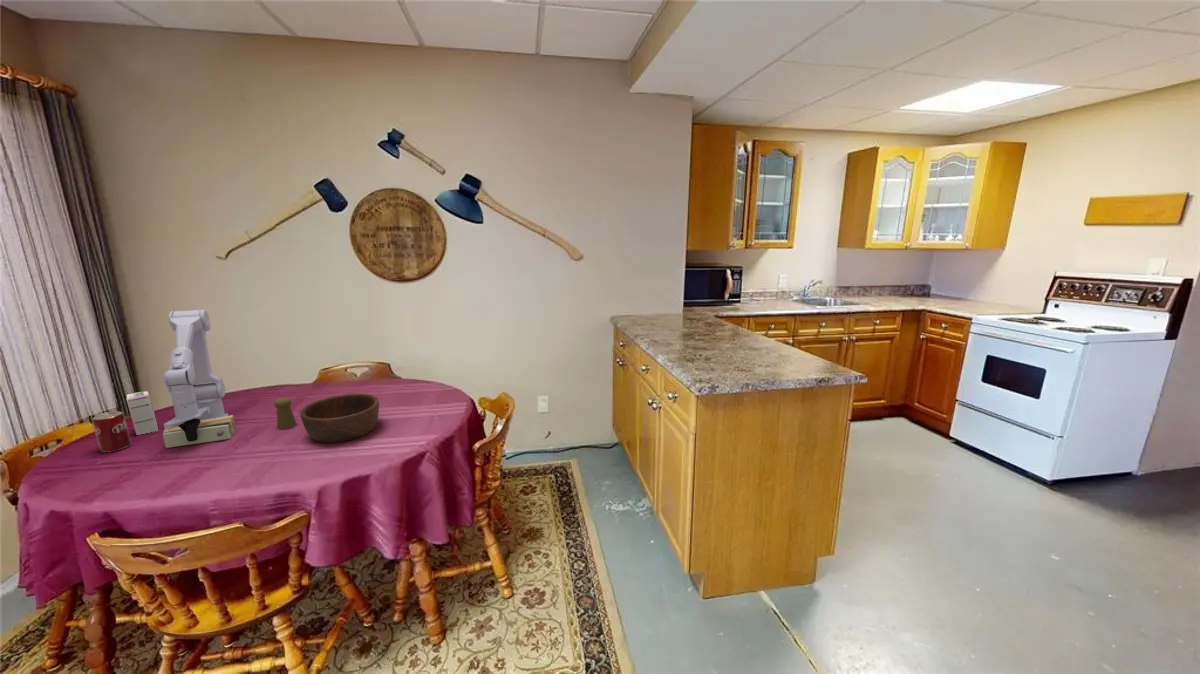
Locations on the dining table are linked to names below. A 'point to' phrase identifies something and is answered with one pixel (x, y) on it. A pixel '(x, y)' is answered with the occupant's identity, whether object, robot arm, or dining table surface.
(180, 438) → the cabinet door
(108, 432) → the soda can
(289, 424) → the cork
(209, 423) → the cabinet
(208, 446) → the dining table surface
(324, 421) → the wooden bowl
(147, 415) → the syrup box
